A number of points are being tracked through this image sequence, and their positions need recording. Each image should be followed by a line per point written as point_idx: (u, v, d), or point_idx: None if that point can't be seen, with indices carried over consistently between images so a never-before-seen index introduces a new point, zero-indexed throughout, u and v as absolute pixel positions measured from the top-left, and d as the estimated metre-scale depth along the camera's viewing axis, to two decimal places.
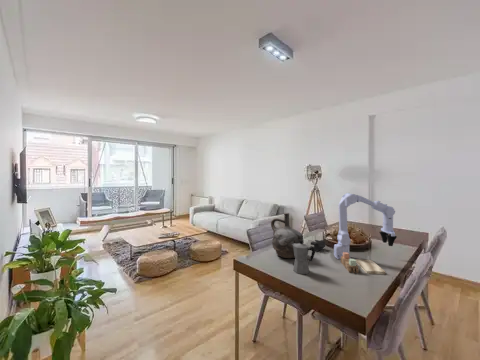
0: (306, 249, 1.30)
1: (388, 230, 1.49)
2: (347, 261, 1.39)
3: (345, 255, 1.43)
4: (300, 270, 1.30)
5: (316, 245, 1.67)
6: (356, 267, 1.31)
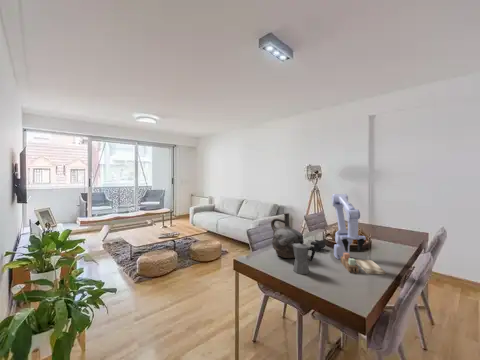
0: (306, 249, 1.30)
1: (347, 234, 1.41)
2: (347, 261, 1.39)
3: (345, 255, 1.43)
4: (300, 270, 1.30)
5: (316, 245, 1.67)
6: (356, 267, 1.31)
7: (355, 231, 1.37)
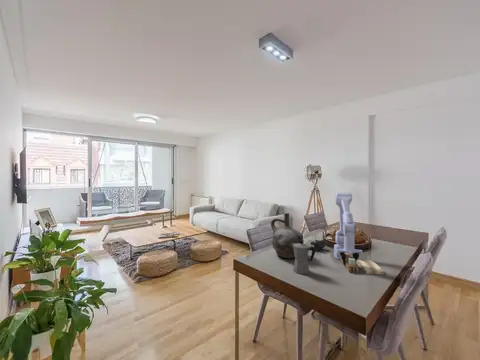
0: (306, 249, 1.30)
1: (344, 248, 1.40)
2: (347, 261, 1.39)
3: (346, 255, 1.42)
4: (300, 270, 1.30)
5: (316, 245, 1.67)
6: (356, 267, 1.31)
7: (351, 245, 1.36)
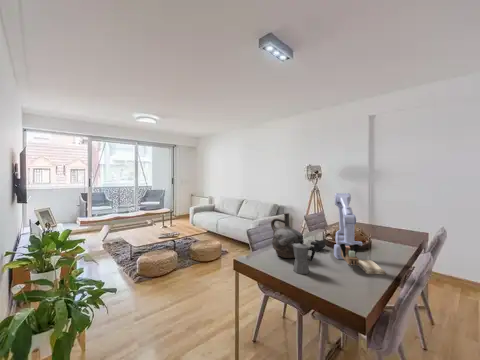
0: (306, 249, 1.30)
1: (344, 240, 1.40)
2: (347, 253, 1.39)
3: (346, 249, 1.42)
4: (300, 270, 1.30)
5: (316, 245, 1.67)
6: (356, 259, 1.31)
7: (351, 236, 1.36)
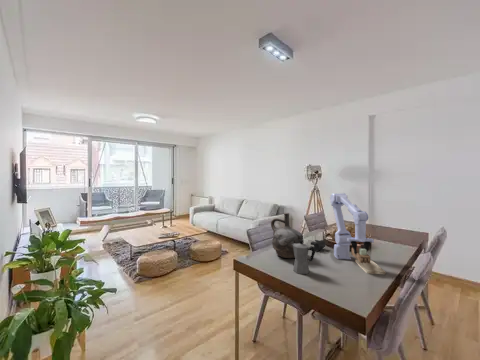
0: (306, 249, 1.30)
1: (355, 237, 1.40)
2: (358, 252, 1.38)
3: (357, 247, 1.41)
4: (300, 270, 1.30)
5: (316, 245, 1.67)
6: (368, 257, 1.31)
7: (362, 233, 1.36)
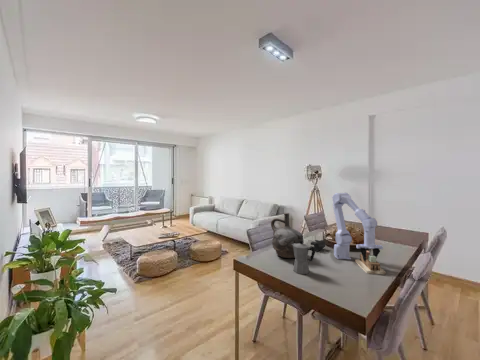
0: (306, 249, 1.30)
1: (364, 243, 1.40)
2: (367, 258, 1.38)
3: None
4: (300, 270, 1.30)
5: (316, 245, 1.67)
6: (378, 264, 1.30)
7: (372, 240, 1.35)
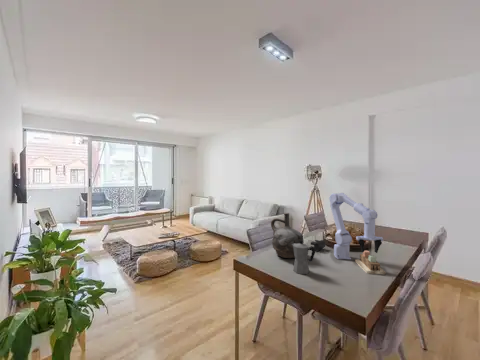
0: (306, 249, 1.30)
1: (364, 235, 1.40)
2: (367, 258, 1.38)
3: (365, 253, 1.41)
4: (300, 270, 1.30)
5: (316, 245, 1.67)
6: (378, 264, 1.30)
7: (372, 232, 1.36)
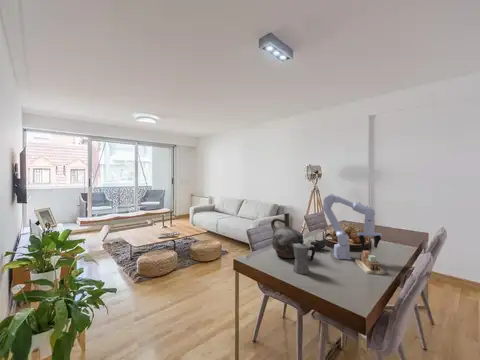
0: (306, 249, 1.30)
1: (364, 231, 1.49)
2: (367, 258, 1.38)
3: (365, 253, 1.41)
4: (300, 270, 1.30)
5: (316, 245, 1.67)
6: (378, 264, 1.30)
7: (371, 228, 1.45)
